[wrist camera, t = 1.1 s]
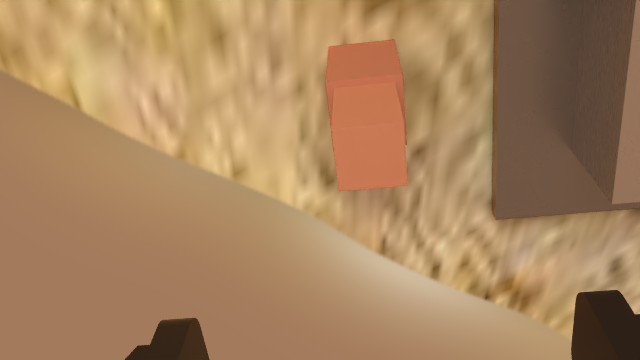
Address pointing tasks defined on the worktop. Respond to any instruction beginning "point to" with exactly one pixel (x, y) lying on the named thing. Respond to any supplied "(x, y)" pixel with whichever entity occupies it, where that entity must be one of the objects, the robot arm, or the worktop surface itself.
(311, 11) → the worktop surface
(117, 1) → the worktop surface
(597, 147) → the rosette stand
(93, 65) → the worktop surface
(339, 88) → the stepped block
